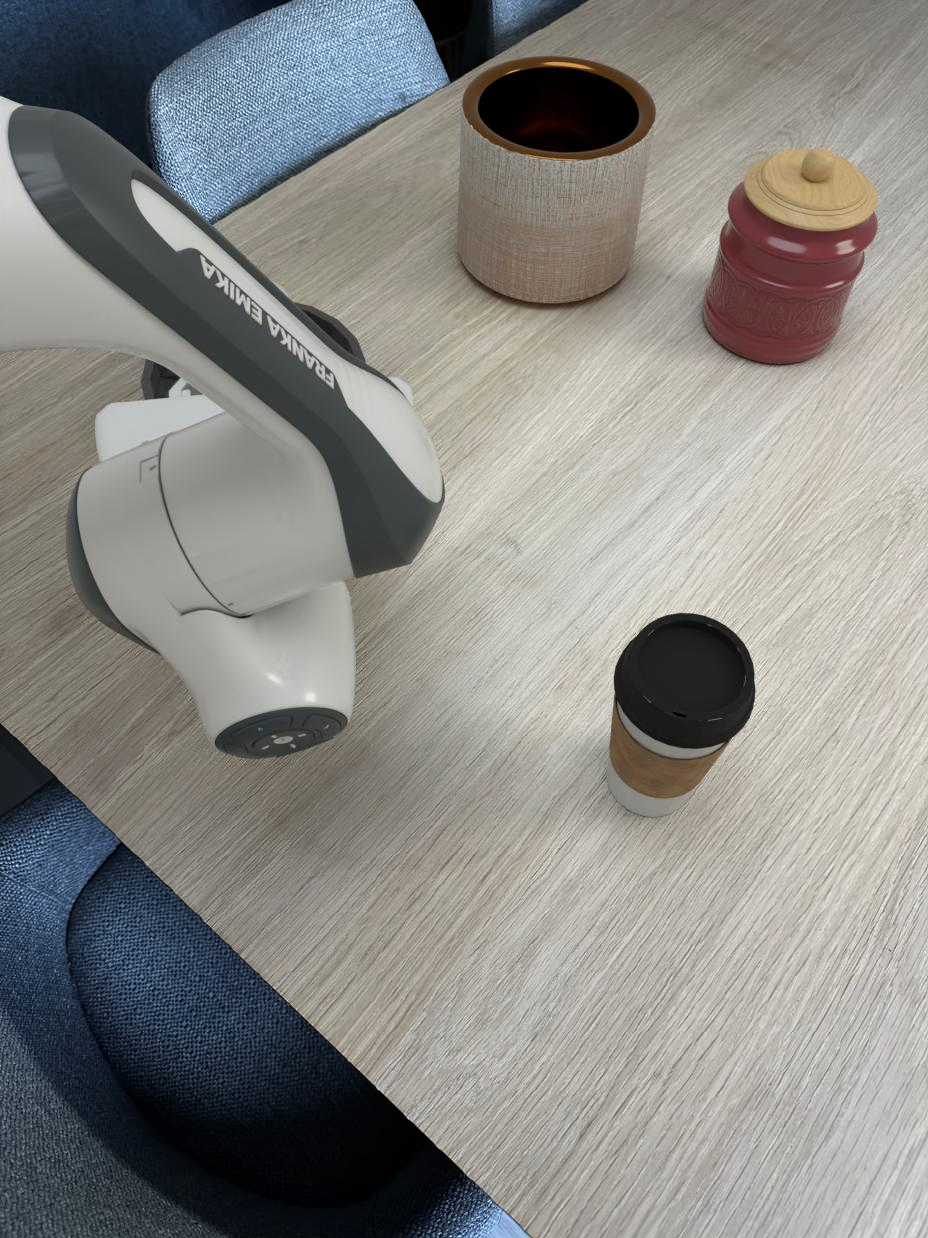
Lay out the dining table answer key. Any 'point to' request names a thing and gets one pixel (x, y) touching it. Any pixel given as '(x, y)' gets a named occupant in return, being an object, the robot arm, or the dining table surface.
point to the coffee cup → (675, 709)
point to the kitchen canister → (789, 255)
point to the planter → (552, 176)
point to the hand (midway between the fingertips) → (255, 359)
